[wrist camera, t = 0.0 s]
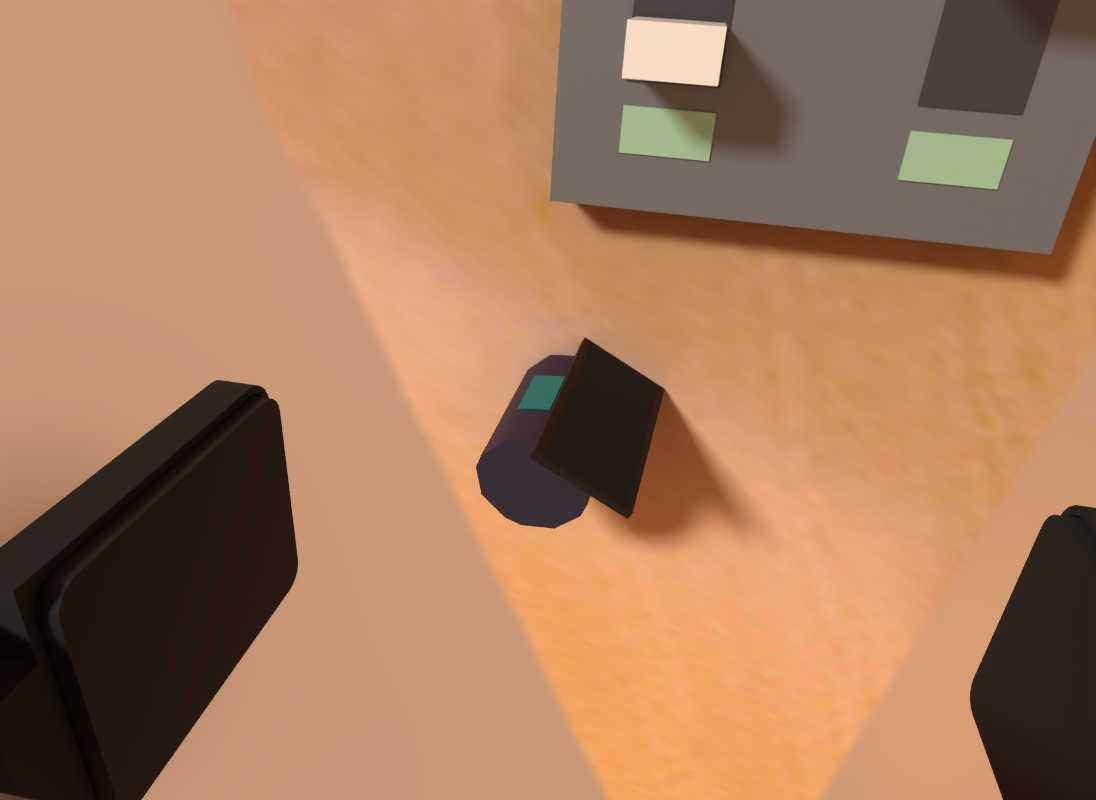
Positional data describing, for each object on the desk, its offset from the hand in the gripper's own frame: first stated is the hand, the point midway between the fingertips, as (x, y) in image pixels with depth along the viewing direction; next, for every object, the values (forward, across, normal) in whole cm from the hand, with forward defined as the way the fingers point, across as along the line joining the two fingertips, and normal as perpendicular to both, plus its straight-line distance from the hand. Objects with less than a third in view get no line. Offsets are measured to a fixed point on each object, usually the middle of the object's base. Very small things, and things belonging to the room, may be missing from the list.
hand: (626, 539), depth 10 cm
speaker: (+31, +4, +15) cm, 35 cm away
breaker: (+28, +1, -4) cm, 28 cm away
